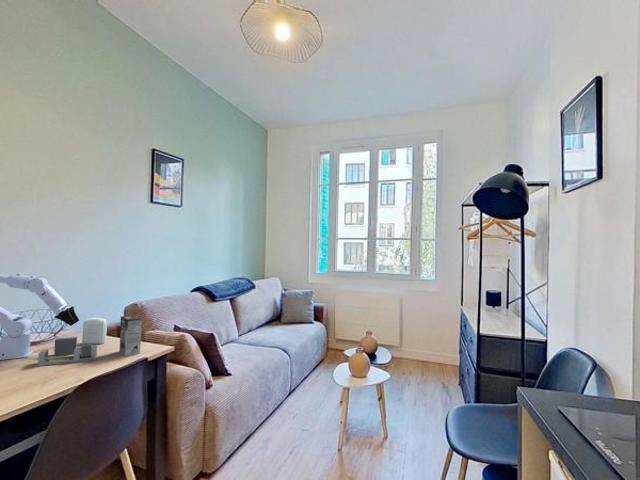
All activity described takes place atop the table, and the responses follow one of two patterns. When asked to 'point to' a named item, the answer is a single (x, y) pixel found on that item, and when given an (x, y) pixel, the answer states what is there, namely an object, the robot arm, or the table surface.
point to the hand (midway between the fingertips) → (75, 323)
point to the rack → (80, 354)
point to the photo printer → (94, 331)
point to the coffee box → (130, 335)
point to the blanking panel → (65, 346)
